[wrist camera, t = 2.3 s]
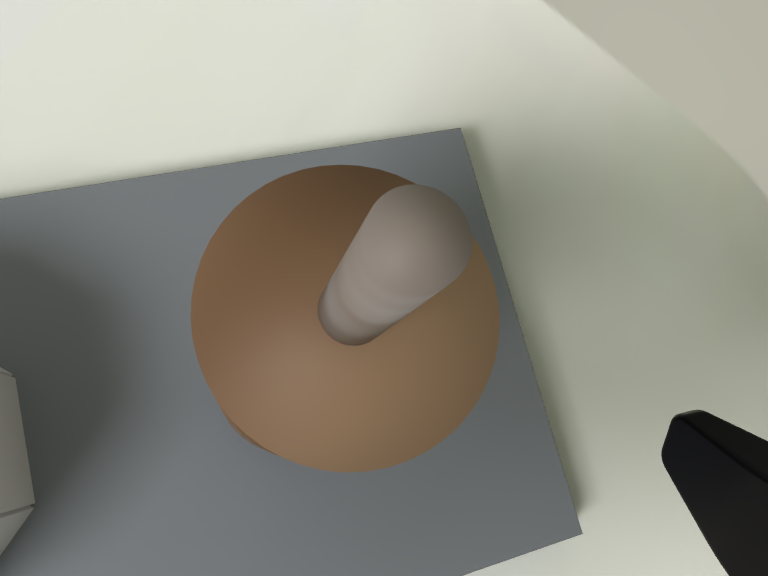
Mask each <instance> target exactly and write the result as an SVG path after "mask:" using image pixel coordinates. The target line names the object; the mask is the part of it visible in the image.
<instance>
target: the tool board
mask: <svg viewBox="0 0 768 576" xmlns="http://www.w3.org/2000/svg"><path fill="white" fill-rule="evenodd" d="M326 165H357V166H364V167H369V168H375V169H380V170H383V171H386V172H389V173H392V174H396V175H398V176H400V177H403V178H405V179H407V180H409V181H411V182H414V183H415V184H417V185H424V186H429V187H432V188H435V189H437V190H439V191H441V192H443V193H445V194H446V195H448V196H449V197H450V198H451V199H453V200H454V201H455V202H456V203H457V204H458V206H459V207H460V208H461V209H462V211H463V212H464V214H465V216H466V218H467V220H468V222H469V225H470V228H471V233H472V235H473V237H474V238H475V240H476V242H477V243H478V245H479V246H480V248H481V250H482V252H483V254H484V256H485V259H486V261H487V263H488V265H489V268H490V271H491V274H492V277H493V280H494V283H495V288H496V293H497V298H498V304H499V318H500V326H499V342H498V347H497V353H496V358H495V362H494V365H493V368H492V371H491V375H490V378H489V380H488V382H487V384H486V386H485V388H484V391H483V393H482V395H481V397H480V398H479V400H478V401H477V403H476V404H475V406H474V407H473V409H472V411H471V412H470V413H469V415H468V416H467V417H466V418H465V419H464V420H463V422H462V423H461V424H460V425H459V426H458V427H457V428H456V429H455V430H454V431H453V432H452V433H451V434H450V435H449V436H447V437H446V438H445V439H444V440H443V441H442V442H440V443H439V444H437V445H436V446H434V447H433V448H431V449H430V450H428V451H427V452H425V453H423V454H421V455H419V456H417V457H415V458H413V459H411V460H409V461H406V462H403V463H400V464H397V465H394V466H391V467H388V468H383V469H378V470H373V471H367V472H335V471H325V470H320V469H316V468H312V467H307V466H303V465H301V464H298V463H295V462H293V461H290V460H288V459H285V458H282V457H280V456H278V455H275V454H273V453H271V452H268V451H266V450H264V449H261V448H259V447H257V446H255V445H254V444H252V443H250V442H249V441H247V440H246V439H245V438H243V437H242V436H241V435H240V434H239V433H238V432H237V431H236V430H235V429H234V428H233V427H232V425H231V424H230V423H229V422H228V420H227V418H226V417H225V415H224V413H223V411H222V410H221V408H220V406H219V404H218V402H217V401H216V399H215V397H214V395H213V393H212V392H211V390H210V388H209V386H208V384H207V383H206V380H205V378H204V375H203V373H202V370H201V368H200V365H199V363H198V359H197V355H196V351H195V347H194V343H193V337H192V328H191V298H192V292H193V286H194V280H195V276H196V273H197V270H198V267H199V264H200V261H201V258H202V256H203V254H204V251H205V249H206V247H207V245H208V243H209V241H210V239H211V238H212V236H213V235H214V233H215V232H216V230H217V229H218V227H219V226H220V224H221V223H222V222H223V220H224V219H225V218H226V217H227V216H228V215H229V214H230V212H231V211H232V210H233V209H234V208H235V207H236V206H237V205H238V204H240V203H241V202H242V201H243V200H244V199H245V198H246V197H248V196H249V195H250V194H252V193H253V192H255V191H256V190H258V189H259V188H261V187H262V186H264V185H265V184H267V183H269V182H271V181H273V180H275V179H278V178H280V177H282V176H284V175H287V174H290V173H293V172H296V171H299V170H302V169H307V168H312V167H317V166H326ZM580 534H583V533H582V530H581V527H580V523H579V520H578V517H577V514H576V510H575V507H574V504H573V500H572V497H571V494H570V490H569V487H568V484H567V480H566V477H565V474H564V470H563V467H562V464H561V460H560V457H559V454H558V450H557V447H556V444H555V440H554V437H553V434H552V430H551V427H550V424H549V420H548V417H547V414H546V410H545V407H544V404H543V400H542V397H541V394H540V390H539V387H538V384H537V381H536V377H535V374H534V371H533V367H532V364H531V361H530V357H529V354H528V351H527V347H526V344H525V341H524V337H523V334H522V331H521V327H520V324H519V321H518V317H517V314H516V311H515V307H514V304H513V301H512V297H511V294H510V291H509V287H508V284H507V281H506V277H505V274H504V271H503V267H502V264H501V261H500V257H499V254H498V251H497V248H496V244H495V241H494V238H493V234H492V231H491V228H490V224H489V221H488V218H487V214H486V211H485V208H484V204H483V201H482V198H481V194H480V191H479V188H478V184H477V181H476V178H475V174H474V171H473V168H472V164H471V161H470V158H469V154H468V151H467V148H466V144H465V141H464V138H463V134H462V131H461V128H457V129H450V130H444V131H437V132H431V133H424V134H418V135H411V136H405V137H398V138H392V139H386V140H379V141H373V142H366V143H360V144H353V145H347V146H340V147H334V148H327V149H321V150H314V151H308V152H301V153H295V154H288V155H282V156H275V157H269V158H263V159H256V160H250V161H243V162H237V163H230V164H224V165H217V166H211V167H204V168H198V169H191V170H185V171H178V172H172V173H165V174H159V175H152V176H146V177H140V178H133V179H127V180H120V181H114V182H107V183H101V184H94V185H88V186H81V187H75V188H68V189H62V190H55V191H49V192H42V193H36V194H29V195H23V196H17V197H10V198H4V199H0V576H463V575H466V574H469V573H471V572H474V571H477V570H480V569H483V568H486V567H489V566H491V565H494V564H497V563H500V562H503V561H506V560H509V559H511V558H514V557H517V556H520V555H523V554H526V553H529V552H532V551H534V550H537V549H540V548H543V547H546V546H549V545H552V544H554V543H557V542H560V541H563V540H566V539H569V538H572V537H575V536H577V535H580Z"/></svg>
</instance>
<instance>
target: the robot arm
mask: <svg viewBox="0 0 768 576" xmlns="http://www.w3.org/2000/svg"><path fill="white" fill-rule="evenodd" d="M661 456H662V461H663V464H664V466H665V468H666V470H667V472H668V474H669V475H670V477H671V479H672V481H673V483H674V484H675V486H676V488H677V490H678V491H679V493H680V495H681V497H682V498H683V500H684V502H685V504H686V506H687V507H688V509H689V511H690V513H691V514H692V516H693V518H694V520H695V521H696V523H697V525H698V527H699V528H700V530H701V532H702V534H703V536H704V537H705V539H706V541H707V543H708V544H709V546H710V547H711V549H712V551H713V552H714V554H715V556H716V557H717V559H718V560H719V562H720V563H721V565H722V566H723V568H724V569H725V571H726V572H727V574H728V575H729V576H768V441H766V440H764V439H762V438H760V437H758V436H756V435H754V434H752V433H750V432H747V431H745V430H743V429H741V428H739V427H737V426H735V425H733V424H731V423H729V422H727V421H725V420H722V419H720V418H718V417H716V416H714V415H712V414H710V413H708V412H705V411H703V410H692V411H688V412H684V413H680V414H677V415H676V416H674V417H673V419H672V421H671V423H670V426H669V429H668V432H667V435H666V438H665V441H664V444H663V447H662V454H661Z"/></svg>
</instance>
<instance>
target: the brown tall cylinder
mask: <svg viewBox="0 0 768 576" xmlns="http://www.w3.org/2000/svg"><path fill="white" fill-rule="evenodd" d="M499 326H500V318H499V304H498V298H497V293H496V288H495V283H494V280H493V277H492V274H491V271H490V268H489V265H488V263H487V261H486V259H485V256H484V254H483V252H482V250H481V248H480V246H479V245H478V243H477V242H476V240H475V238H474V237H473V235H472V233H471V228H470V225H469V222H468V220H467V218H466V216H465V214H464V212H463V211H462V209H461V208H460V207H459V206H458V204H457V203H456V202H455V201H454V200H453V199H451V198H450V197H449V196H448V195H446V194H445V193H443V192H441V191H439V190H437V189H435V188H432V187H429V186H424V185H417V184H415V183H414V182H411V181H409V180H407V179H405V178H403V177H400V176H398V175H396V174H392V173H389V172H386V171H383V170H380V169H375V168H369V167H364V166H357V165H326V166H317V167H312V168H307V169H302V170H299V171H296V172H293V173H290V174H287V175H284V176H282V177H280V178H278V179H275V180H273V181H271V182H269V183H267V184H265V185H264V186H262V187H261V188H259V189H258V190H256V191H255V192H253V193H252V194H250V195H249V196H248V197H246V198H245V199H244V200H243V201H242V202H241V203H240V204H238V205H237V206H236V207H235V208H234V209H233V210H232V211H231V212H230V214H229V215H228V216H227V217H226V218H225V219H224V220H223V222H222V223H221V224H220V226H219V227H218V229H217V230H216V232H215V233H214V235H213V236H212V238H211V239H210V241H209V243H208V245H207V247H206V249H205V251H204V254H203V256H202V258H201V261H200V264H199V267H198V270H197V273H196V276H195V280H194V286H193V292H192V298H191V328H192V337H193V343H194V347H195V351H196V355H197V359H198V363H199V365H200V368H201V370H202V373H203V375H204V378H205V380H206V383H207V384H208V386H209V388H210V390H211V392H212V393H213V395H214V397H215V399H216V401H217V402H218V404H219V406H220V408H221V410H222V411H223V413H224V415H225V417H226V418H227V420H228V422H229V423H230V424H231V425H232V427H233V428H234V429H235V430H236V431H237V432H238V433H239V434H240V435H241V436H242V437H243V438H245V439H246V440H247V441H249V442H250V443H252V444H254V445H255V446H257V447H259V448H261V449H264V450H266V451H268V452H271V453H273V454H275V455H278V456H280V457H282V458H285V459H288V460H290V461H293V462H295V463H298V464H301V465H303V466H307V467H312V468H316V469H320V470H325V471H335V472H367V471H373V470H378V469H383V468H388V467H391V466H394V465H397V464H400V463H403V462H406V461H409V460H411V459H413V458H415V457H417V456H419V455H421V454H423V453H425V452H427V451H428V450H430V449H431V448H433V447H434V446H436V445H437V444H439V443H440V442H442V441H443V440H444V439H445V438H446V437H447V436H449V435H450V434H451V433H452V432H453V431H454V430H455V429H456V428H457V427H458V426H459V425H460V424H461V423H462V422H463V420H464V419H465V418H466V417H467V416H468V415H469V413H470V412H471V411H472V409H473V407H474V406H475V404H476V403H477V401H478V400H479V398H480V397H481V395H482V393H483V391H484V388H485V386H486V384H487V382H488V380H489V378H490V375H491V371H492V368H493V365H494V362H495V358H496V353H497V347H498V342H499Z"/></svg>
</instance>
